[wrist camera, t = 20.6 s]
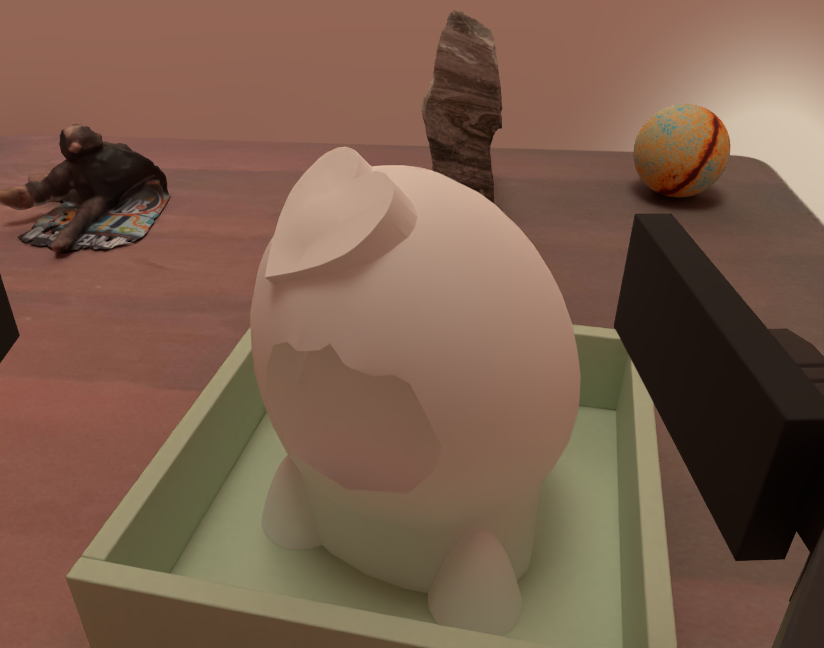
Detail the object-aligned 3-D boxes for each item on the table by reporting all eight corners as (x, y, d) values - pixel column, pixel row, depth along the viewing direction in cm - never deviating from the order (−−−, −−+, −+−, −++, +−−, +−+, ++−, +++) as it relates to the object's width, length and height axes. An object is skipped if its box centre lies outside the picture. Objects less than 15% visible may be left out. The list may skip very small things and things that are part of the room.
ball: (632, 208, 57) (648, 117, 53) (622, 175, 63) (636, 91, 59) (727, 214, 56) (750, 122, 53) (708, 180, 62) (728, 95, 59)
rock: (462, 177, 62) (471, -19, 54) (531, 187, 61) (551, -14, 53) (405, 239, 52) (405, 10, 44) (486, 254, 51) (501, 17, 43)
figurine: (370, 389, 37) (361, 74, 29) (595, 470, 32) (660, 121, 24) (212, 544, 28) (139, 162, 20) (486, 683, 24) (529, 259, 16)
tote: (650, 791, 22) (683, 697, 19) (98, 671, 25) (64, 576, 22) (630, 413, 36) (647, 332, 34) (284, 367, 39) (276, 289, 37)
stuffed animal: (134, 148, 64) (161, 94, 53) (171, 258, 64) (205, 226, 54) (-18, 174, 58) (-22, 119, 48) (23, 295, 59) (29, 267, 48)
